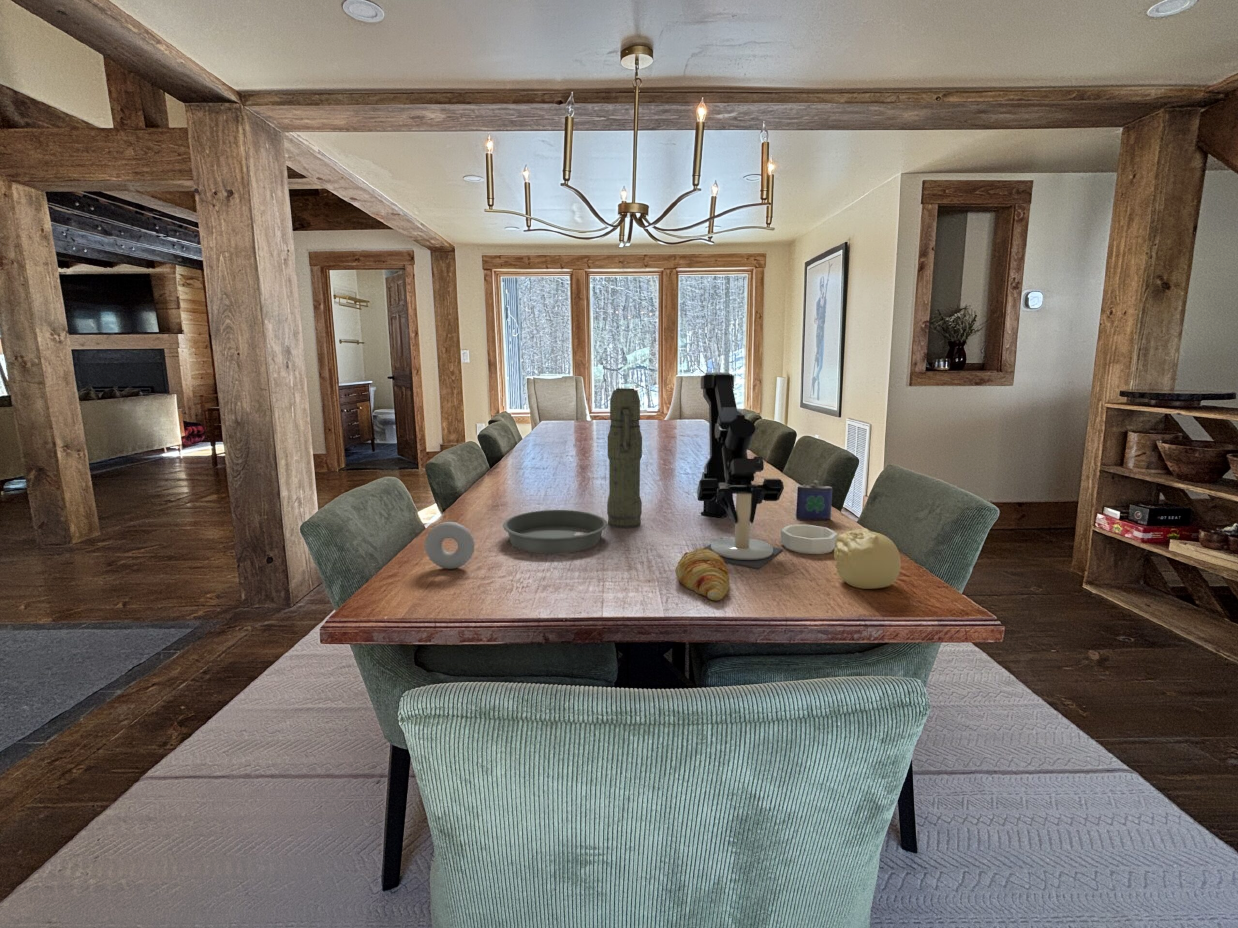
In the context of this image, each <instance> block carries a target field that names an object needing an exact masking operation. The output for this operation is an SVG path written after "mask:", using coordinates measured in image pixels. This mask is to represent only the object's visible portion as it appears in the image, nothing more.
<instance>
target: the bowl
mask: <svg viewBox="0 0 1238 928" xmlns="http://www.w3.org/2000/svg"><path fill="white" fill-rule="evenodd" d="M838 535H839V534H838V532H836V531H835V530H833V529H831V528H828V527H826V526H825V527H824V526H821V525H820V526H817V525H814V524H813V525H811V524H805V523H804V524H790V525H786V526H785V527H783V528H782V529H781V530H780V541H779V542H780V543H781V544H782V545H783V547H784V548H785V549H787V550H789V551H792V552H795V553H799V554H805V555H825V554H829V553H831V552H834V549H835V539H836V537H837V536H838Z"/></svg>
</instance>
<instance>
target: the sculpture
mask: <svg viewBox="0 0 1238 928" xmlns="http://www.w3.org/2000/svg"><path fill="white" fill-rule="evenodd" d="M833 557H834V560H835V562H836V563H835V565H834V566H835V569H836V573H837V574H838V576H839V578H840V579H841V580H843V581H844V582H845V583H847V585H849V586H850V587H851V586H852V587H854V588H855V589H856V588H857V589H863V590H865V589H868V590H870V589H881V588H887V587H890V586H891V585H893V584H894V583H895V582H896V580H897V578H898V577H899V574H900V572H901V566H902V565H901V563H902V562H901V561H902V560H901V555H900V552H899V549H898V547H897V546H896V544H895V543H894V542H893V541H892V540H891V539H890V538H889V537H887V536H886V535H884V534H881V533H879V532H875V531H871V530H869V529H868V528H867V527H864V528H860V529H855V530H847V531H845V532H843V533H842V534H841V533H840V534H838V535H837V537H836V539H835V548H834V549H833Z"/></svg>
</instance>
